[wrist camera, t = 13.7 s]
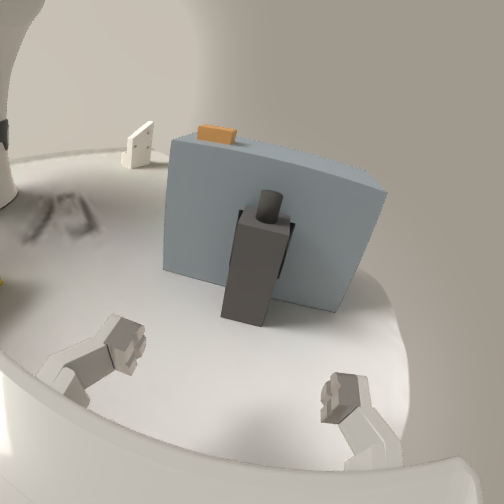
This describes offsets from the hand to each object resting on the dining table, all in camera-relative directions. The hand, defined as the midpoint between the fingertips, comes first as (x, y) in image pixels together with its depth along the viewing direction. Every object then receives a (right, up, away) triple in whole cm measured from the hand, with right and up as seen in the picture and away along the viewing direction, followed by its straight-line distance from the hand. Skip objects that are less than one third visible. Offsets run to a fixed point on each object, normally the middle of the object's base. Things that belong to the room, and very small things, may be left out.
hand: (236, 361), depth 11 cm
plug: (0, 0, +16) cm, 16 cm away
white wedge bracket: (-26, +24, +45) cm, 57 cm away
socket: (+1, +2, +20) cm, 20 cm away
